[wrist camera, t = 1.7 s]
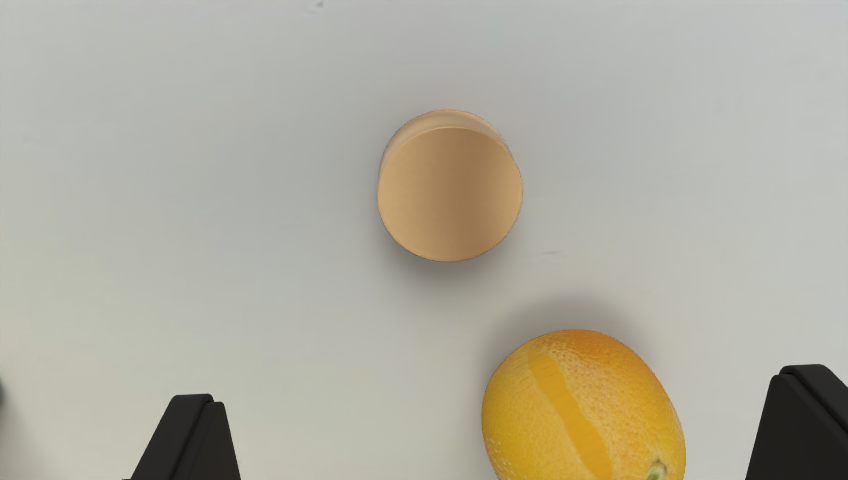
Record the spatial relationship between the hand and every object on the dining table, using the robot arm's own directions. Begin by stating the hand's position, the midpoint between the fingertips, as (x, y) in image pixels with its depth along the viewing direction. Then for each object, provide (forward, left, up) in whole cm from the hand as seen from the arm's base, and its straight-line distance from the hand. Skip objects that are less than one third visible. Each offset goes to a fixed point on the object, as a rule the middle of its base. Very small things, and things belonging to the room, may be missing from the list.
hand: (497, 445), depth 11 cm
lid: (0, -1, -16) cm, 16 cm away
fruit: (+5, -11, -16) cm, 21 cm away
